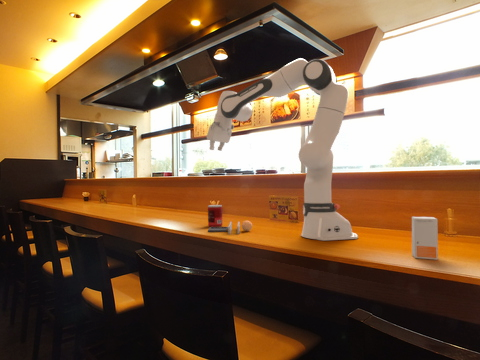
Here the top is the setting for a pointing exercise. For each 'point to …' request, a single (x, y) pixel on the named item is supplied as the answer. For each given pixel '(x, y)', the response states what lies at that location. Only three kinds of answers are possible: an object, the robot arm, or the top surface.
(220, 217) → the canned food
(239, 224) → the walls
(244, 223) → the ball
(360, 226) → the top surface
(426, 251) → the skincare box
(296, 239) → the top surface
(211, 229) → the coaster
